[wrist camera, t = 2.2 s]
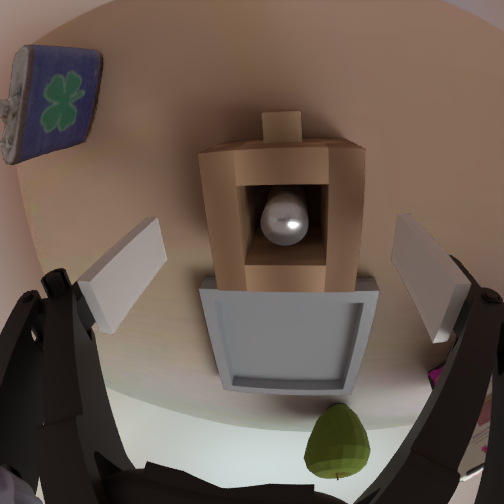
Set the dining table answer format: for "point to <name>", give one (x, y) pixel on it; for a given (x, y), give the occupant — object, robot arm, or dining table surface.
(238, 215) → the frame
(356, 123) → the dining table surface
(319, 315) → the tray
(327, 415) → the apple
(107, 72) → the dining table surface
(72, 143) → the flask
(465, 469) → the candy bar box
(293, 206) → the silver capsule
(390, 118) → the dining table surface
